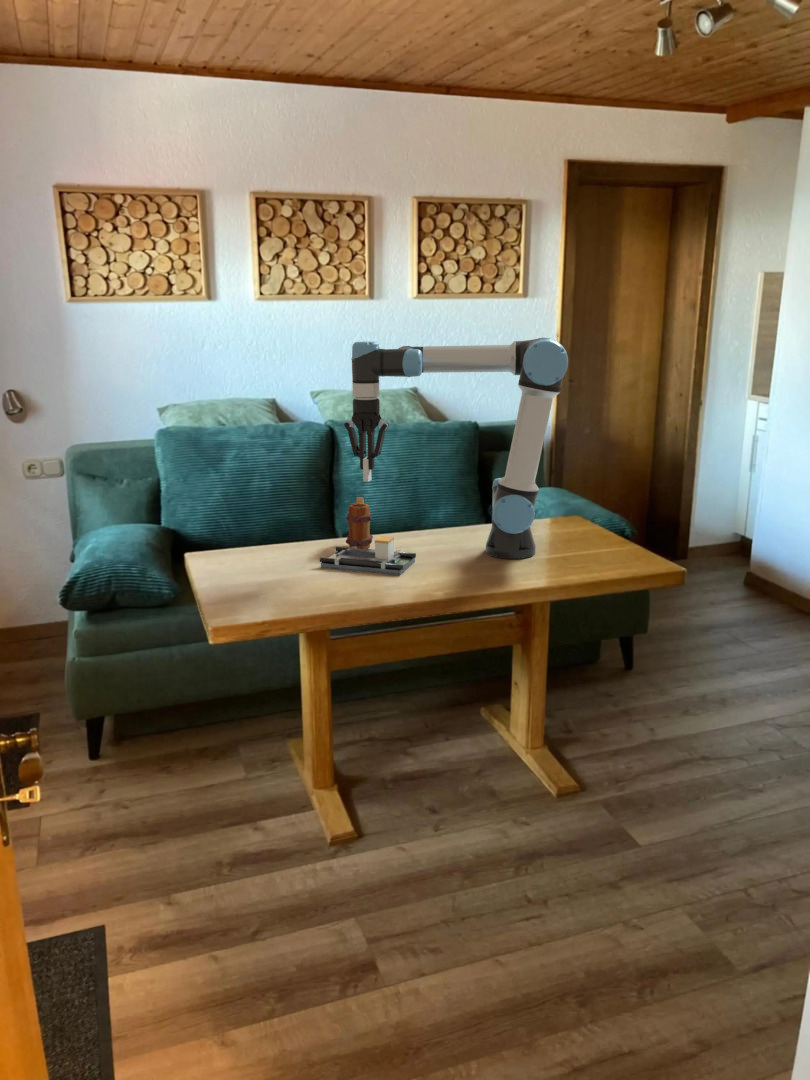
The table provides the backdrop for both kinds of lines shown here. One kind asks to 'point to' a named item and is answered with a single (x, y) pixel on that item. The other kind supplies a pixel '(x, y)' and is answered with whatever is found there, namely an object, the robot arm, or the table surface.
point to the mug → (359, 525)
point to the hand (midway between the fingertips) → (367, 480)
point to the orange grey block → (384, 547)
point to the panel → (369, 569)
